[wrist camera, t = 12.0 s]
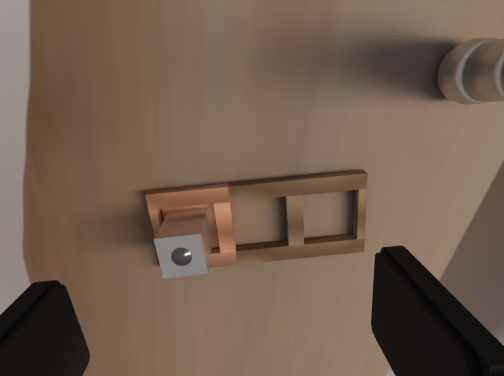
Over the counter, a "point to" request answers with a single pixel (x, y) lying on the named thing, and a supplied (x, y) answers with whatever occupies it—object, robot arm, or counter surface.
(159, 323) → the counter surface
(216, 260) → the rail
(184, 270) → the steel plug
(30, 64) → the counter surface
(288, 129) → the counter surface
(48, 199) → the counter surface
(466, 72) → the plastic bottle
